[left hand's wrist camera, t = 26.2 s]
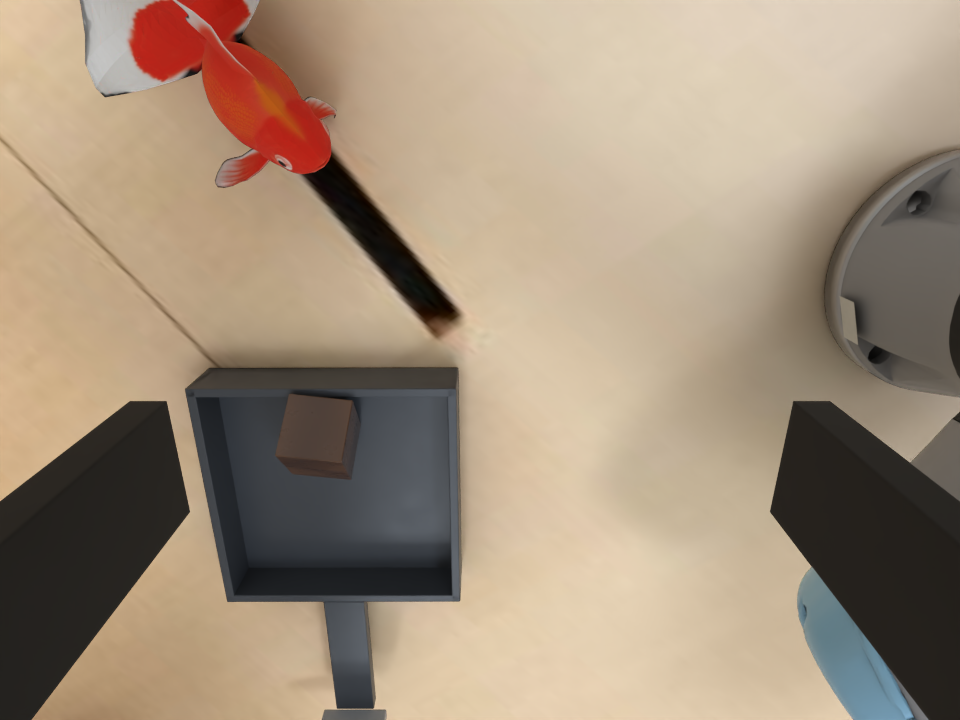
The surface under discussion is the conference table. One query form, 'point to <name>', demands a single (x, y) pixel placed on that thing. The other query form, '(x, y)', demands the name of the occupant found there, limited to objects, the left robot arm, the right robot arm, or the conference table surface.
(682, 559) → the conference table surface
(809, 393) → the conference table surface
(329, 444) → the walnut block
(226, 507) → the pan
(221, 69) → the fish
